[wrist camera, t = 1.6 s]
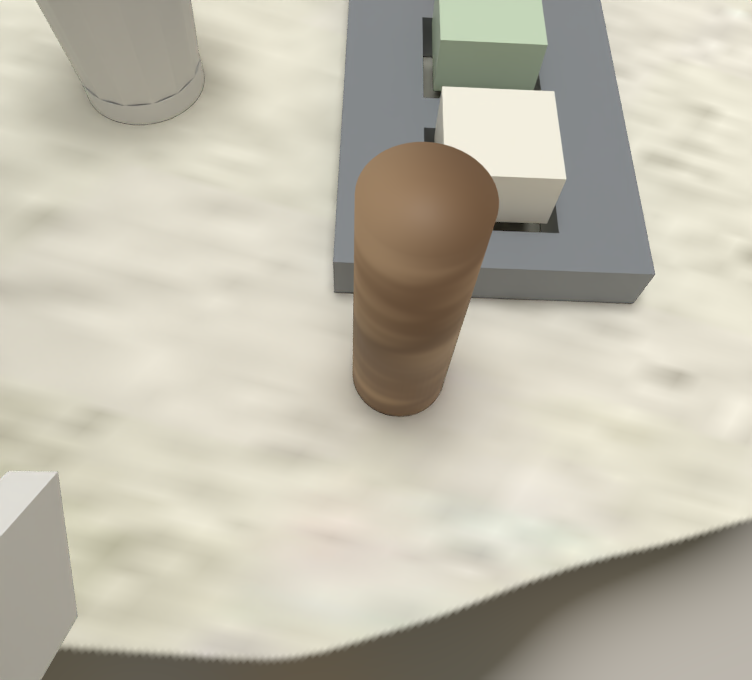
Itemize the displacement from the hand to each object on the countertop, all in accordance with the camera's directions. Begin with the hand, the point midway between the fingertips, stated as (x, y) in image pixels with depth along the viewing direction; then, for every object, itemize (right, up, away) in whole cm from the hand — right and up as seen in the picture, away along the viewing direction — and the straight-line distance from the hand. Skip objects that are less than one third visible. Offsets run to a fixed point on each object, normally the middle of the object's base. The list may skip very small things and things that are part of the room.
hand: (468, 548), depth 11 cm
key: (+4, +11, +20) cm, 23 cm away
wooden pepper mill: (-1, +2, +18) cm, 18 cm away
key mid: (+4, +18, +24) cm, 30 cm away
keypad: (+4, +17, +26) cm, 31 cm away
